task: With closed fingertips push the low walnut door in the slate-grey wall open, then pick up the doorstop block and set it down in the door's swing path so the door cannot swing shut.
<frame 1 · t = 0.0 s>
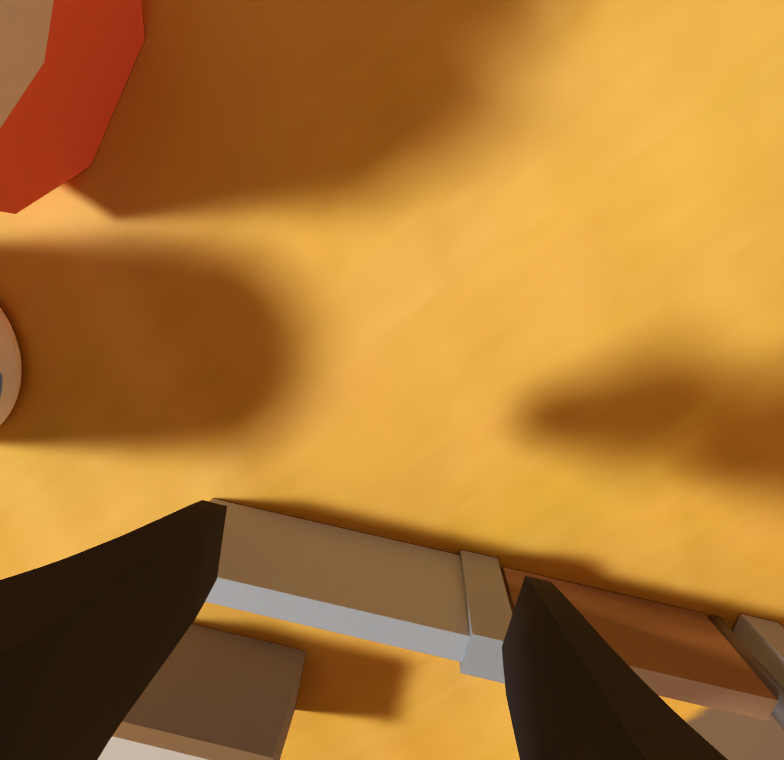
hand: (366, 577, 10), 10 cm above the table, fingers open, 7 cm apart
doorstop: (229, 662, 24), on the table
wall: (508, 577, 21), on the table
door: (634, 641, 19), point 2 cm above the table, hinge at 0.0°
french fries container: (73, 74, 18), on the table
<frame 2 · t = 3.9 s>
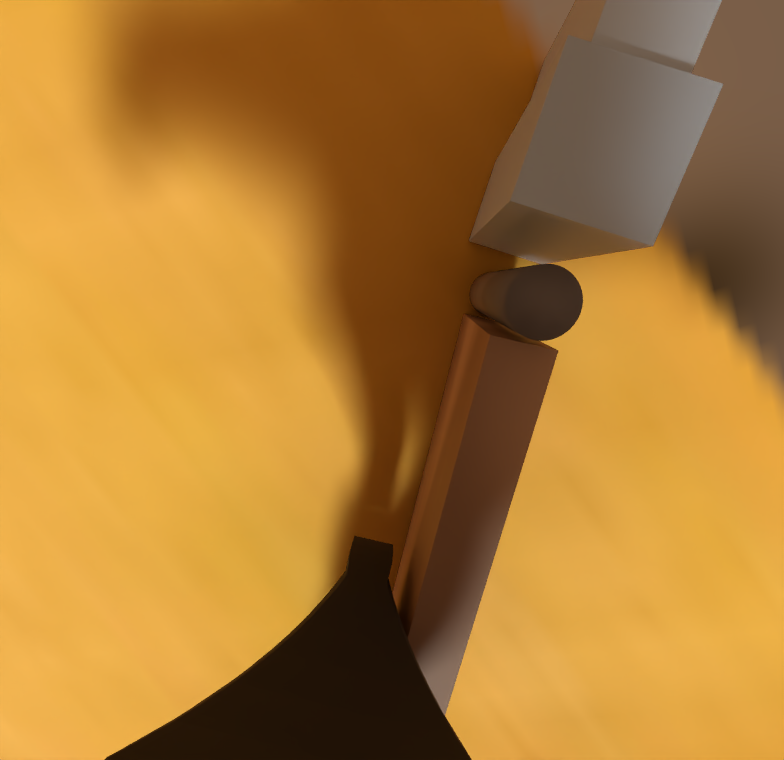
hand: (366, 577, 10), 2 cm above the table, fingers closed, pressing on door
wall: (371, 625, 13), on the table
door: (445, 528, 9), point 2 cm above the table, hinge at 5.0°, touching gripper
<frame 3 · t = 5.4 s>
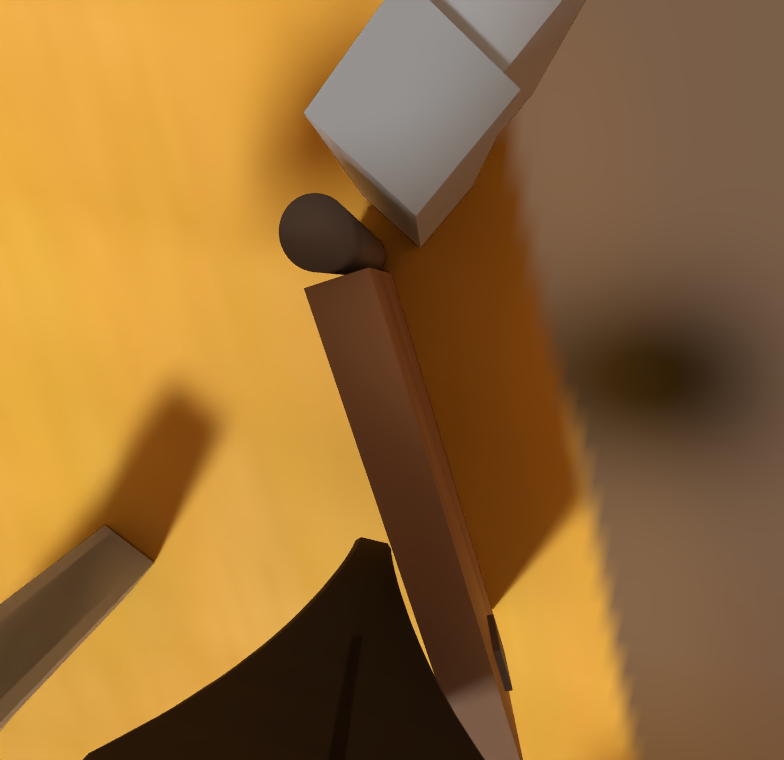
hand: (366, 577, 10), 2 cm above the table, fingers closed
wall: (144, 526, 13), on the table
door: (421, 483, 9), point 2 cm above the table, hinge at 58.1°, touching gripper
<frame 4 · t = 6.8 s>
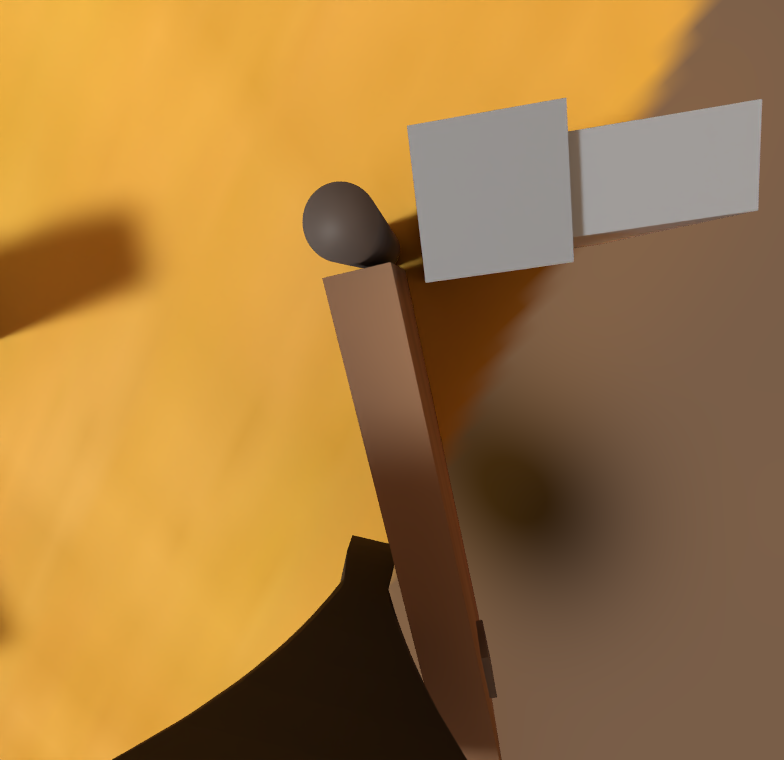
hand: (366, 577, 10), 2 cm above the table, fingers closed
wall: (3, 305, 11), on the table
door: (421, 484, 9), point 2 cm above the table, hinge at 94.9°, touching gripper
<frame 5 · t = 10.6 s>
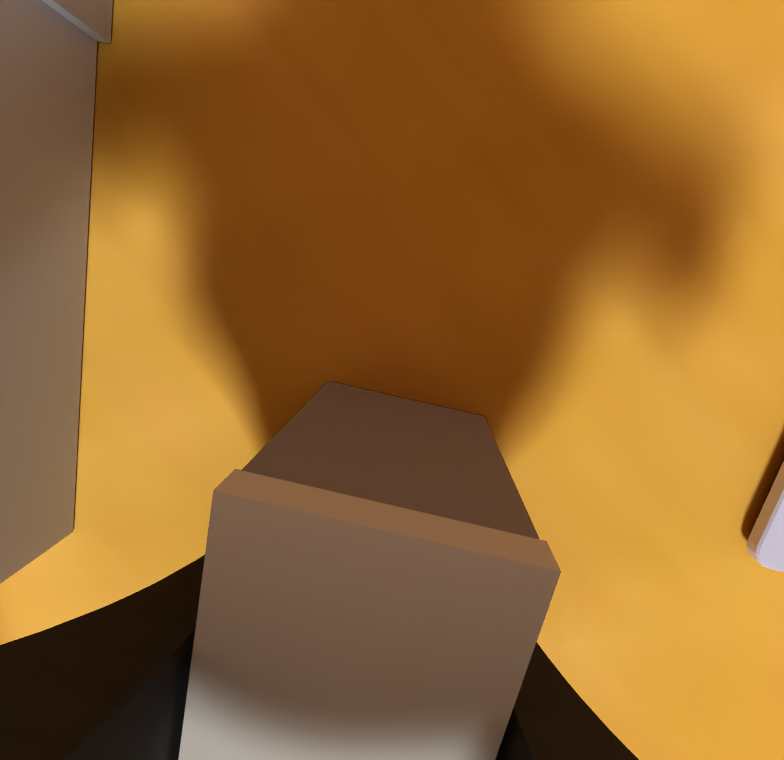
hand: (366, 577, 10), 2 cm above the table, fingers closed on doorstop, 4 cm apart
doorstop: (373, 537, 12), on the table, touching gripper
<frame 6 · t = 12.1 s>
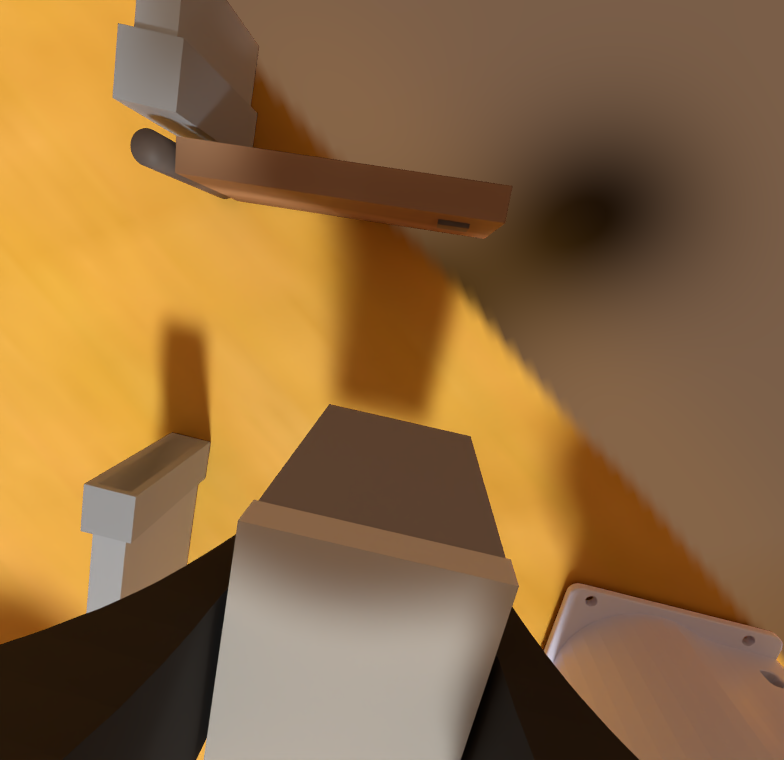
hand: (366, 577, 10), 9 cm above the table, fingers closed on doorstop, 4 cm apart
doorstop: (371, 544, 13), point 6 cm above the table, touching gripper
wall: (193, 420, 19), on the table
door: (335, 191, 15), point 2 cm above the table, hinge at 94.2°
when the fingers open (3 cm above the table, at t = 13.9 s): doorstop stays where it is, on the table.
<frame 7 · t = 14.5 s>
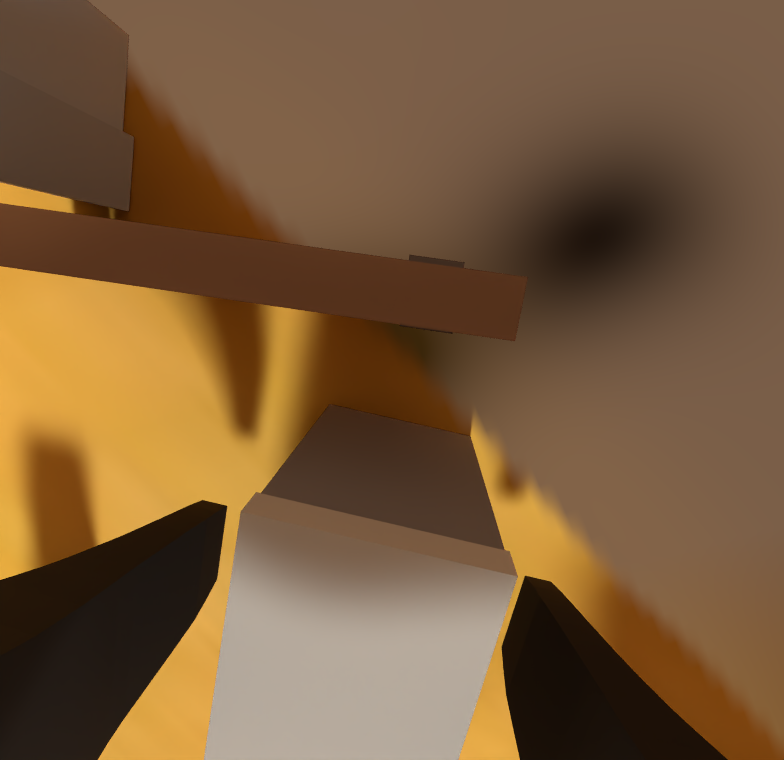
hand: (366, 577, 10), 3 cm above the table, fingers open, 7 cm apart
doorstop: (371, 543, 13), on the table
wall: (76, 564, 14), on the table
door: (236, 266, 9), point 2 cm above the table, hinge at 94.2°
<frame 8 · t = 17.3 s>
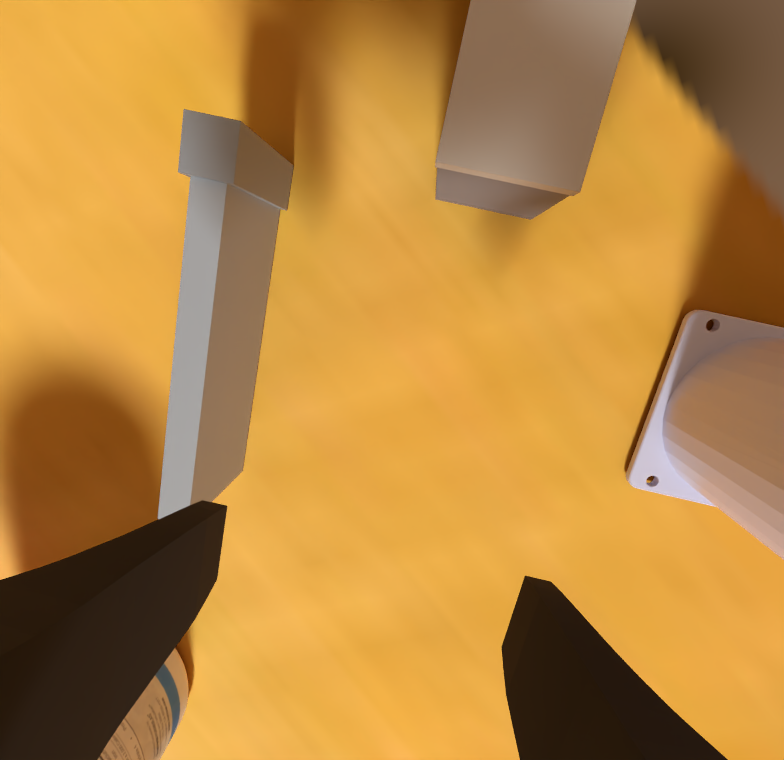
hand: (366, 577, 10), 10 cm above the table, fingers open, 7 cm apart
doorstop: (509, 103, 17), on the table
supplement tub: (119, 665, 25), on the table
wall: (275, 140, 18), on the table
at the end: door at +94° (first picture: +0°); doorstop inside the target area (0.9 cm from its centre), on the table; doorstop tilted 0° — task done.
